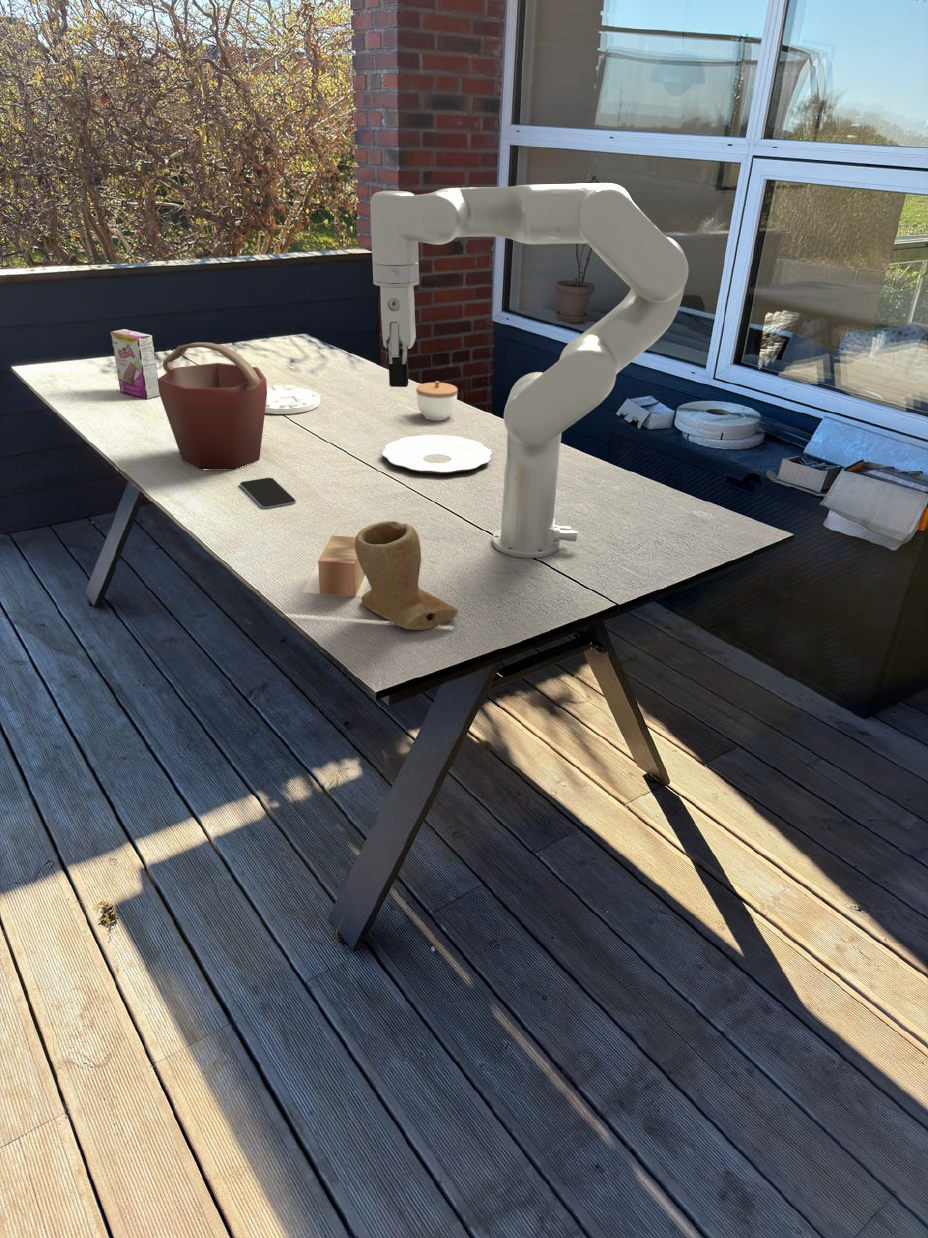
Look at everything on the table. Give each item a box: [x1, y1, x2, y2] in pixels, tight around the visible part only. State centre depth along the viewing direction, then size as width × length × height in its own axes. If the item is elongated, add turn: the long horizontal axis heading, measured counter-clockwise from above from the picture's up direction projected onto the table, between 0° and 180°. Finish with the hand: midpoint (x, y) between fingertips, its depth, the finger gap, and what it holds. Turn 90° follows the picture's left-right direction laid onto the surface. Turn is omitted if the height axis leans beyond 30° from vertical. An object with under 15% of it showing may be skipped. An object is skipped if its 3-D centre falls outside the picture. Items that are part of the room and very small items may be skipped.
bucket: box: [157, 341, 268, 471], centre depth 196 cm, size 24×22×25 cm
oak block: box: [317, 534, 365, 597], centre depth 149 cm, size 6×6×10 cm
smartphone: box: [239, 477, 297, 510], centre depth 184 cm, size 7×1×15 cm
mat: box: [301, 563, 369, 598], centre depth 156 cm, size 10×22×1 cm, turn 175°
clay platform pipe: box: [355, 520, 459, 631], centre depth 138 cm, size 15×12×15 cm
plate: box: [381, 434, 493, 475], centre depth 206 cm, size 25×25×2 cm
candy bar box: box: [110, 328, 160, 400], centre depth 239 cm, size 11×5×16 cm, turn 58°
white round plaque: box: [265, 384, 321, 415], centre depth 239 cm, size 20×20×3 cm
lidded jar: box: [415, 380, 459, 422], centre depth 232 cm, size 11×11×9 cm
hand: (399, 385), depth 156 cm, fingers closed
